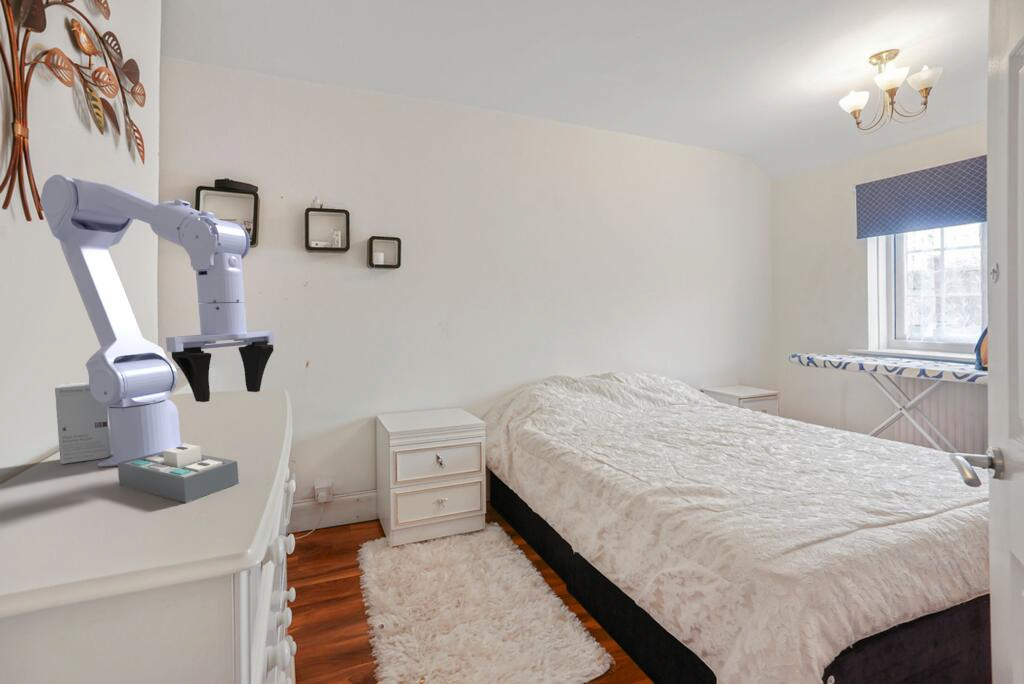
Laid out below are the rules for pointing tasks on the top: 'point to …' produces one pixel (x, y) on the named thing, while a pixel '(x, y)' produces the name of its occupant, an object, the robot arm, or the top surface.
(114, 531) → the top surface
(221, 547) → the top surface
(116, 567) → the top surface
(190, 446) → the button middle
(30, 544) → the top surface
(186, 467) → the button
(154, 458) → the button
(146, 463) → the console
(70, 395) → the skincare box
